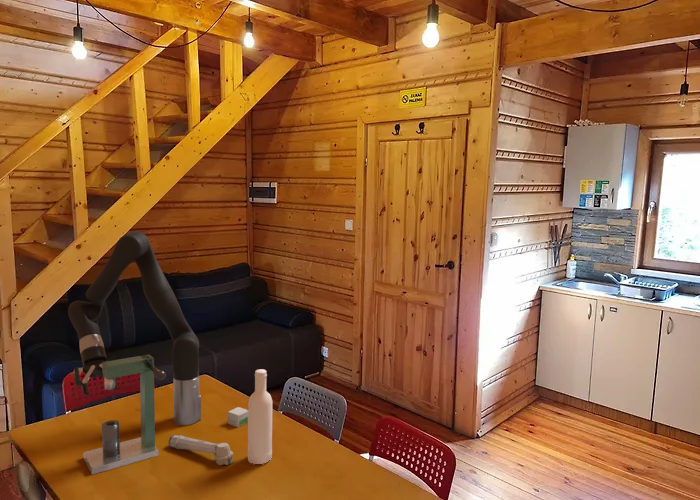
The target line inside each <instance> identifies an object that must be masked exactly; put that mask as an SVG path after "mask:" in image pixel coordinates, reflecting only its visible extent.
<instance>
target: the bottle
mask: <svg viewBox="0 0 700 500" xmlns="http://www.w3.org/2000/svg"><path fill="white" fill-rule="evenodd" d="M254 372H255V373H254V391H253V393H251V395H250V396H249V398H248V407H247V408H248V409H247V410H248V425H247V462H249V463H250V464H252V463H253V464H252V465H255V464H262V465H264V464H263V463H266V462H268V461H269V460H270V461H271V460H272V459H271V458H272V456H273V399H272V398H273V397H272V396H271V394H270V393H269V392H268V391H267V377H268V374H267V370H266V369H263V368H262V369H261V368H260V369H256V370H255V371H254ZM270 461H269V462H270ZM269 462H268V463H269ZM266 464H267V463H266Z"/></svg>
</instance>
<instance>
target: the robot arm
mask: <svg viewBox="0 0 700 500" xmlns="http://www.w3.org/2000/svg"><path fill="white" fill-rule="evenodd" d="M132 262H135V264H136V266H137V267H138V270H139V273H140V277H141V284H142V289H143V294H144V296H145V298H146V300H147V302H148V304H149V306H150V308H151V310H152V311H153V313H155V315H156V316H157V318H158V319H159V320H160V321H161V322H162V324H164V326H165V327H166V329H167V332H169V335H170V338H171V341H172V343H173V345H172V373H173V374H172V375H173V376H172V377H173V379H172V380H173V383H172V384H173V385H172V386H173V389H172V390H173V422H174V424H175V425H178V426H189V425H193V424H195V423H197V422H198V421H202V396H201V394H200V367H199V365H200V361H199V360H200V358H199V356H200V355H199V354H200V353H199V352H200V351H199V350H200V349H199V348H200V341H199V338H198V336H197V335H196V334H195V332H194V331H193V329H192V328H191V326H190V324H189V323H188V321H187V319H186V317H185V315H184V313H183V311H182V309H181V306H180V303H179V302H178V301H179V300H177V299H178V298H177V297H176V294H175V292H174V291H173V289H172V286H171V285H170V284H169V281H168V280H167V278H166V276H165V273H164V272H163V270H162V268H161V265H160V264H159V262H158V259H157V258H156V255H155V252H154V250H153V247H152V245H151V242H150V240H149V238H148V236H147V235H146V234H144V233H143V232H142V231H138V230H133V231H130V232H128V233H126V234H124V235H122V236H121V237H120V238H119V239H118V240H117V242H116V244H115V247H114V249H113V250H112V253H111V255H110V256H109V259H108V260H107V262H106V264H105V265H104V267H103V269H102V270H101V271H100V273H98V275H97V276H96V278H95V279H94V281H93V282H92V283H91V285H90V286H89V287H88V289H87V290H86V291H85V297H86V298H87V300H89V301H90V302H89V301H83V300H75V301H73V302H71V303H70V305H69V306H68V309H67V313H68V314H67V315H68V318H69V320H70V322H71V324H72V326H73V328H74V329H75V331H76V332H77V338H78V341H79V353H80V357H81V363H82V367H78V366H75V367H73V381H74V386H75V387H81V389H82V390H81V391H82V395H83V396H85V397H89V395H90V392H89V388H88V382H89V380H90V379H97V378H103V377H104V376H103V373H102V362H107V361H108V359H107V355H106V350H105V346H104V342H103V339H102V336H101V335H102V334H101V331H100V327H99V325H98V323H96V322H95V321H97V319H99V318H100V316H101V313H102V310H103V307H104V305H105V302H106V300H107V299H108V298H109V296H110V295H111V293H112V292H113V291H114V290H115V287H116V286H117V284H118V282H119V280H120V277H121V276H122V274H123V273H124V271H125V270H126V268H127V267H129V266H130V264H132ZM82 372H83V373H84V374H85V376H84V378H83V380H80V375H81V373H82ZM120 378H121V377H115V388H114V389H112V391H113V392H115V391H116V390H117V389H118V385H119V384H118V381H117V380H118V379H120Z"/></svg>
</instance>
